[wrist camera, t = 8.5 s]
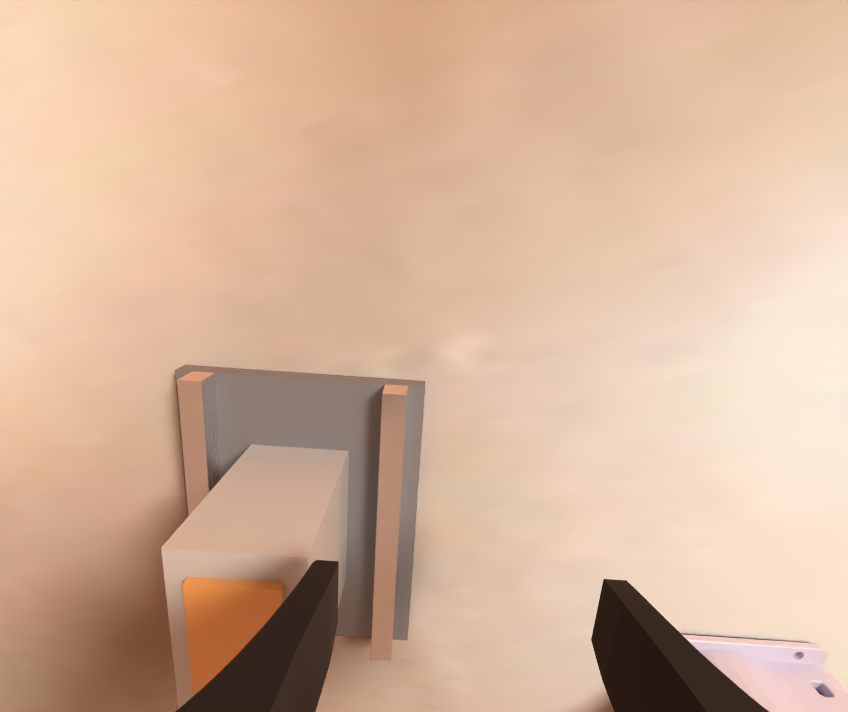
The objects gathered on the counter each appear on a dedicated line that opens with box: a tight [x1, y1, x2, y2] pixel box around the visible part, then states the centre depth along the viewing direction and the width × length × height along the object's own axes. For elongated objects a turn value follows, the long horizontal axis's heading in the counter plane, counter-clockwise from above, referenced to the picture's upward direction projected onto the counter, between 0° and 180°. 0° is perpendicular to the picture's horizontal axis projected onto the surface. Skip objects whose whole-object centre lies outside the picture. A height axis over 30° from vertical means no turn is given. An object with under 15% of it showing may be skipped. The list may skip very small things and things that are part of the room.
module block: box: [161, 444, 349, 709], centre depth 18 cm, size 4×7×7 cm, turn 176°
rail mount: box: [175, 365, 425, 661], centre depth 21 cm, size 11×14×2 cm
